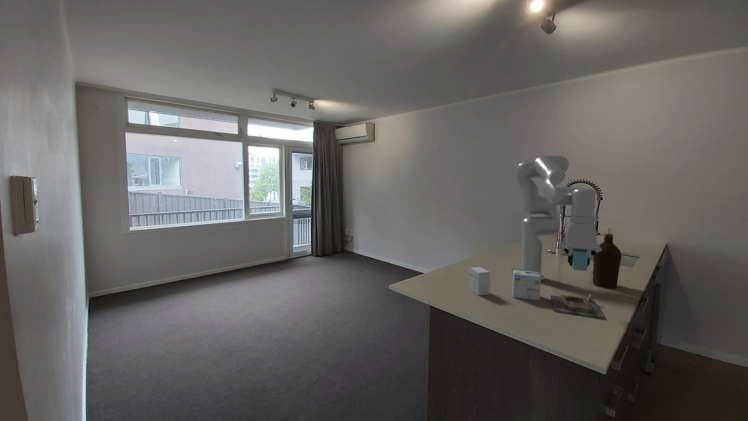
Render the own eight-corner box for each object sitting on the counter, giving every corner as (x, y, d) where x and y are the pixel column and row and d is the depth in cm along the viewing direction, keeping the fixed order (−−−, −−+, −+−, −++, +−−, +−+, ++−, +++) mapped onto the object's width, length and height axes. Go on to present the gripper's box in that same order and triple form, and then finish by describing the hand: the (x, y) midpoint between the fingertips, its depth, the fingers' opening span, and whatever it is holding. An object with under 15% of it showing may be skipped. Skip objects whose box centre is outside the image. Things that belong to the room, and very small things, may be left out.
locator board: (554, 311, 122) (555, 302, 121) (550, 296, 136) (551, 288, 136) (604, 319, 115) (605, 309, 115) (594, 303, 129) (595, 294, 129)
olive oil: (624, 289, 145) (629, 236, 142) (601, 289, 145) (605, 236, 142) (607, 281, 155) (611, 232, 152) (586, 281, 155) (590, 232, 152)
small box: (489, 294, 138) (490, 271, 137) (478, 295, 137) (479, 272, 136) (479, 288, 146) (480, 266, 145) (469, 289, 145) (469, 267, 144)
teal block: (570, 264, 128) (571, 247, 127) (583, 265, 126) (584, 248, 125) (573, 269, 121) (574, 251, 120) (586, 270, 119) (588, 253, 119)
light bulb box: (537, 295, 138) (539, 271, 137) (540, 301, 132) (541, 276, 130) (511, 292, 142) (512, 269, 140) (512, 297, 135) (513, 273, 134)
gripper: (605, 220, 121) (601, 265, 123) (555, 217, 128) (552, 260, 130) (610, 223, 115) (606, 271, 117) (557, 220, 122) (554, 265, 124)
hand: (578, 265), depth 124 cm, fingers closed on teal block, 4 cm apart
